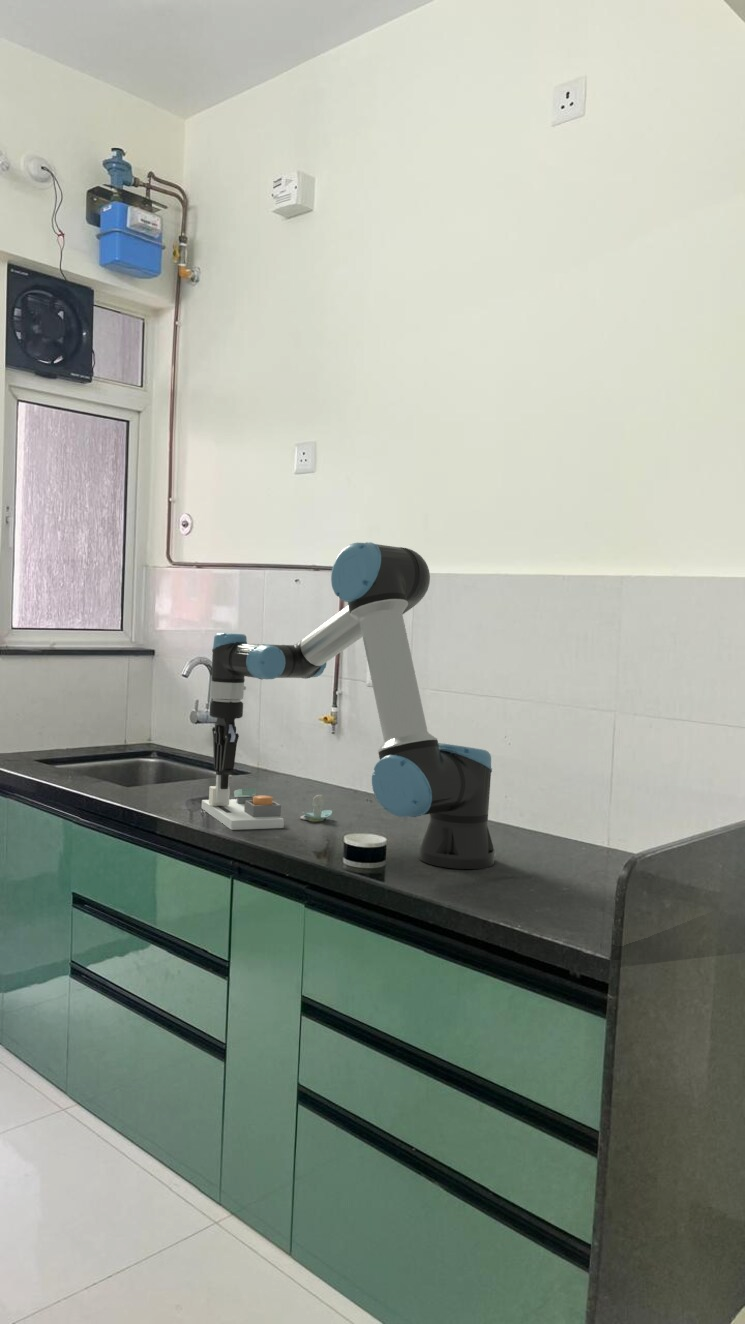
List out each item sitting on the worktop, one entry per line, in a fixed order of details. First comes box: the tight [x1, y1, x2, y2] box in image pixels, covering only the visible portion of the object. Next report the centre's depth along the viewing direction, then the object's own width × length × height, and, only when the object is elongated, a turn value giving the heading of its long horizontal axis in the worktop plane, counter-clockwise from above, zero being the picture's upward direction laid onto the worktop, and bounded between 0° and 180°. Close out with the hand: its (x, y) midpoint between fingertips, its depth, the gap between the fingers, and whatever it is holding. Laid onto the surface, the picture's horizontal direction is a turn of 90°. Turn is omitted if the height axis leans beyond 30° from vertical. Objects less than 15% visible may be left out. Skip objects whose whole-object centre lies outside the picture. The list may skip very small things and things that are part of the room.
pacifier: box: [299, 794, 333, 822], centre depth 235 cm, size 7×6×6 cm
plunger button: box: [252, 794, 274, 805], centre depth 228 cm, size 4×4×3 cm
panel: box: [201, 796, 285, 831], centre depth 232 cm, size 24×12×4 cm, turn 25°
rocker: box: [233, 787, 258, 798], centre depth 239 cm, size 6×4×1 cm, turn 25°
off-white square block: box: [208, 785, 231, 806], centre depth 234 cm, size 3×4×4 cm
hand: (221, 802), depth 232 cm, fingers closed
